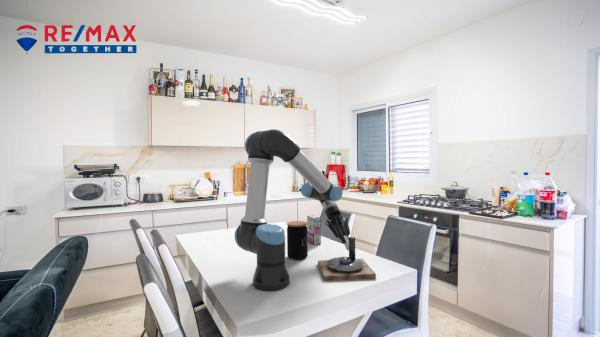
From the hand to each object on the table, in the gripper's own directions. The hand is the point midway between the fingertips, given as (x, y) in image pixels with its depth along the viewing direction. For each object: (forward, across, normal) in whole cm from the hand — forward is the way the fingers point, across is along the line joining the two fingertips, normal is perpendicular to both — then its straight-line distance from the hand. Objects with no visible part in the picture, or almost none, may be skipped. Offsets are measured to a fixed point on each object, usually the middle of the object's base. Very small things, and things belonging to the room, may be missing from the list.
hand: (349, 248), depth 142 cm
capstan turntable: (+8, +6, 0) cm, 10 cm away
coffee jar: (-10, +17, -22) cm, 30 cm away
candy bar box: (-25, -4, -37) cm, 45 cm away
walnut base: (+10, +6, -2) cm, 12 cm away
